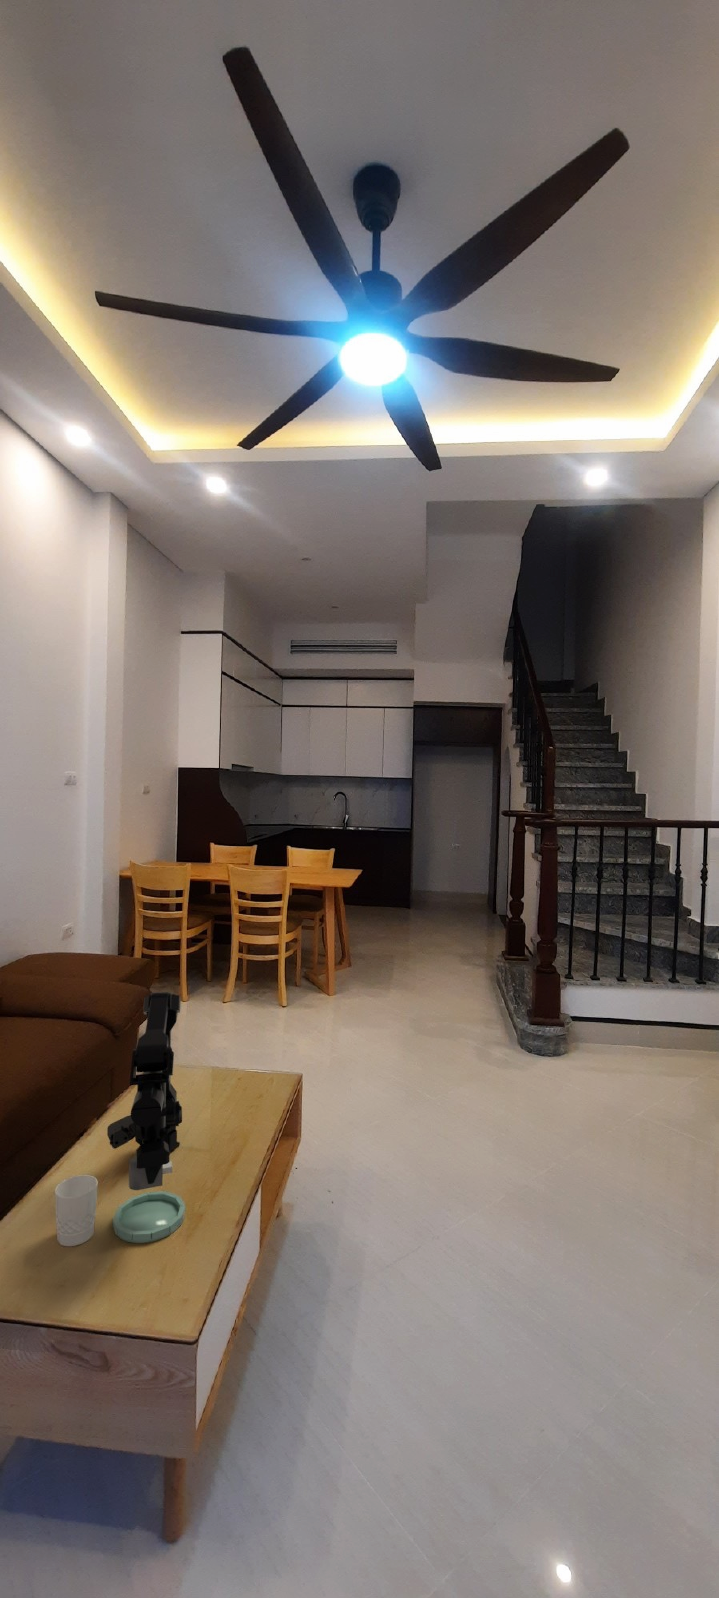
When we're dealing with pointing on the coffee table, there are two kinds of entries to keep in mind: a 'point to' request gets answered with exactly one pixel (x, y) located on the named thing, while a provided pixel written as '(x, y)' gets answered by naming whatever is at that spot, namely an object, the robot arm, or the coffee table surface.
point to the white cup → (75, 1209)
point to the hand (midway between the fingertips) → (150, 1177)
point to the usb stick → (140, 1179)
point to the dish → (149, 1217)
